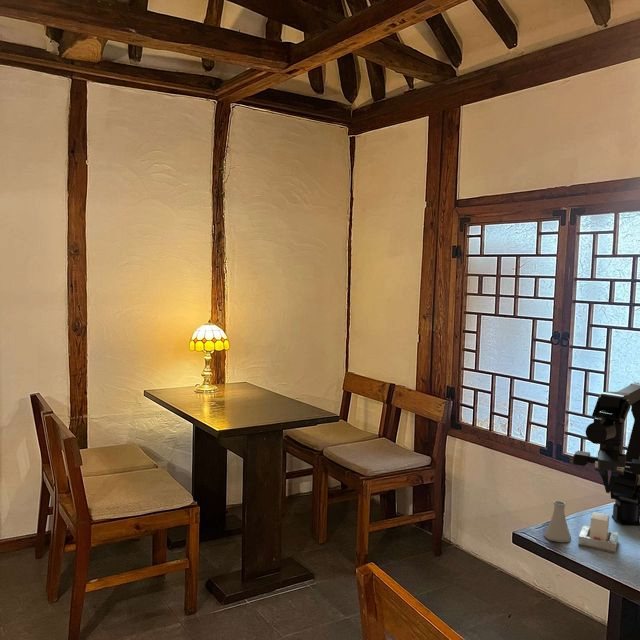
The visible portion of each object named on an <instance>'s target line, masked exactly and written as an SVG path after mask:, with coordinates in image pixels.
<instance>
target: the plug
mask: <svg viewBox="0 0 640 640" xmlns="http://www.w3.org/2000/svg"><path fill="white" fill-rule="evenodd" d="M609 525H610V514H606V513H602V512H597V511H593V512H592V515H591V516H590V525H589V527H590V537H591V538H594V537H599V538H601V540H605V541H607V540H608V531H609Z"/></svg>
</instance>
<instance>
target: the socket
mask: <svg viewBox="0 0 640 640" xmlns="http://www.w3.org/2000/svg"><path fill="white" fill-rule="evenodd" d="M577 543H578V544H577V546H579V545H581V547H584V546H585V547H586V548H588V547H589V548H588V549H594V550H598V551H603V552H606V553H611V554H616V551H617V547H618V544H619V532H617V531H612V530H608V540H607V541H605V540H601V538H599V537H594V538H591V537H590V526H587V525H584V524H583V525H582V528H581V531H580V532H579V534H578V542H577ZM585 547H584V548H585Z"/></svg>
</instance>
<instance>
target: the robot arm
mask: <svg viewBox="0 0 640 640" xmlns="http://www.w3.org/2000/svg"><path fill="white" fill-rule="evenodd" d="M630 411H631V414H632V417H633V421H634V422H633V425H632V429H631V432H630V437H629V441H628V445H627V447H626V453H623V441H624V439H623V438H624V428H625V427H624V425H625V424H624V422H625V421H626V418H627V417H628V414H629V412H630ZM591 416H592V418H593V422H591V423H590V424H588V425H587V426H586V429H585V436H586V438H587V440H588V441H589V442H590V443H592V444H595V445H599V449H598V451H597V456H594V455H593V456H592V455H591V452H589V451H583V450H577V451H575V452H574V454H573V456H572V457H573V458H572V464H573V465H577V466H582V467H585V466H587V465H588V463H589V464H594V471H597V472H598V473H599V475H600V477H601V480H602V483H603V486H604V490H605V493H606V494H610V499H611V500H614V501H615V502H614V503H613V505H612V514H611V518H613V519H614V520H615V521H616V522H617V523H619V524H620V525H623V526H640V382H637V381H633V382H631V383H630V384H629V385H628V386H626V387H624V388H621V389H620V390H617V391H603V392H602V393H601V394H600V395H599V396H598V398H597V400H596V403H595V406H594V409H593V412H592V414H591ZM609 471H610V476H609Z"/></svg>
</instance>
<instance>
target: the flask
mask: <svg viewBox="0 0 640 640" xmlns="http://www.w3.org/2000/svg"><path fill="white" fill-rule="evenodd" d="M566 504H567V503H566V502H565V501H561V500H553V505H554V506H553V513H552V516H551V519H550V521H549V523H548V525H547V528H546V530H545V532H544V534H543V537H545V538H546V539H547V540H548V541H553V542H556V543H570V542H571V540H572V536H571V533H570V529H569V526H568V523H567V518H566V514H565V507H566Z"/></svg>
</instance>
